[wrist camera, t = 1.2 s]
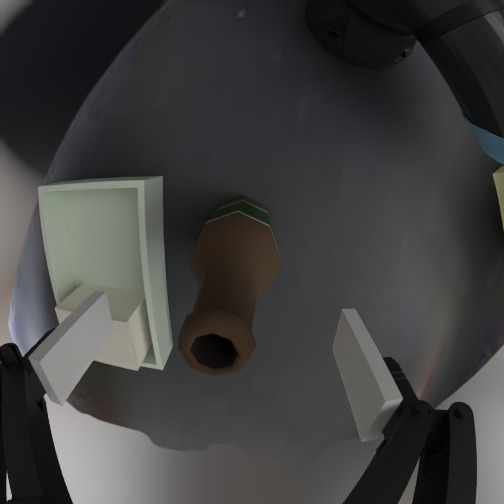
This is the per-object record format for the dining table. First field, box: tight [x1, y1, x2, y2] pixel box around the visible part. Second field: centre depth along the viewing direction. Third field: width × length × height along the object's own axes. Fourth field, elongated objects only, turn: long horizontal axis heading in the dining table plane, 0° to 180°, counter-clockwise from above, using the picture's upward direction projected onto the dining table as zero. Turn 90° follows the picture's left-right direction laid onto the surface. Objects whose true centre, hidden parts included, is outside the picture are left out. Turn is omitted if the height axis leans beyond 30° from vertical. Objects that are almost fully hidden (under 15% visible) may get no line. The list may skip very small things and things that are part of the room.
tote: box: [38, 176, 173, 370], centre depth 34 cm, size 17×26×6 cm, turn 177°
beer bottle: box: [178, 196, 281, 377], centre depth 23 cm, size 8×8×24 cm
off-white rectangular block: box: [55, 284, 152, 371], centre depth 34 cm, size 12×8×8 cm, turn 87°
